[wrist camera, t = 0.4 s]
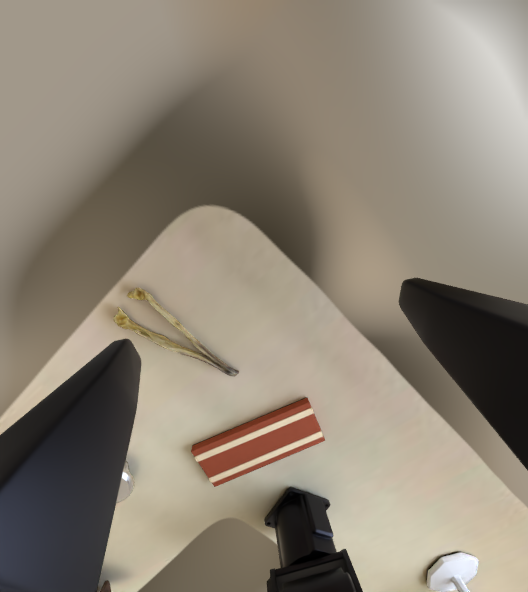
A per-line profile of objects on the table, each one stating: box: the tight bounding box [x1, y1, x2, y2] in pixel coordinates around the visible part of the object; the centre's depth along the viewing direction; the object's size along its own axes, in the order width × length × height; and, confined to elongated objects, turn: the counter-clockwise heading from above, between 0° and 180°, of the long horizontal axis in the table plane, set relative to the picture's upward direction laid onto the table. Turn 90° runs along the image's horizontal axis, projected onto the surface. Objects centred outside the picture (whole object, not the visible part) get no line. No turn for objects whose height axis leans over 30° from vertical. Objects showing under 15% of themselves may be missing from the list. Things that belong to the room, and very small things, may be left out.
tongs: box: [114, 288, 239, 376], centre depth 24 cm, size 4×13×2 cm, turn 54°
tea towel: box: [191, 398, 325, 487], centre depth 29 cm, size 14×6×1 cm, turn 112°
